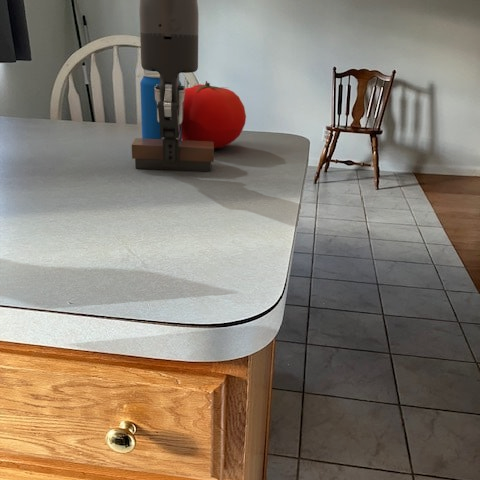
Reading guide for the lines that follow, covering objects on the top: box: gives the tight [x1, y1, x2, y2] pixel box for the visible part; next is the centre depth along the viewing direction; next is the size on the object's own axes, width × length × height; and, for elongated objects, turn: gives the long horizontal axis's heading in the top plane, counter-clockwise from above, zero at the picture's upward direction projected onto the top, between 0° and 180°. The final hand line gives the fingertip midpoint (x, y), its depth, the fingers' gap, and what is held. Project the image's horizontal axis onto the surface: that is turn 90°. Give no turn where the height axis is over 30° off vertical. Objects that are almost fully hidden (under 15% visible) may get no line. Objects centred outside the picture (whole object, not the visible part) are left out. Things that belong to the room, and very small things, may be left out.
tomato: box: [181, 80, 247, 149], centre depth 94 cm, size 13×12×11 cm
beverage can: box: [139, 72, 182, 140], centre depth 88 cm, size 6×6×12 cm
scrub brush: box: [131, 137, 215, 172], centre depth 82 cm, size 12×5×4 cm, turn 93°
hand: (171, 165), depth 78 cm, fingers closed
